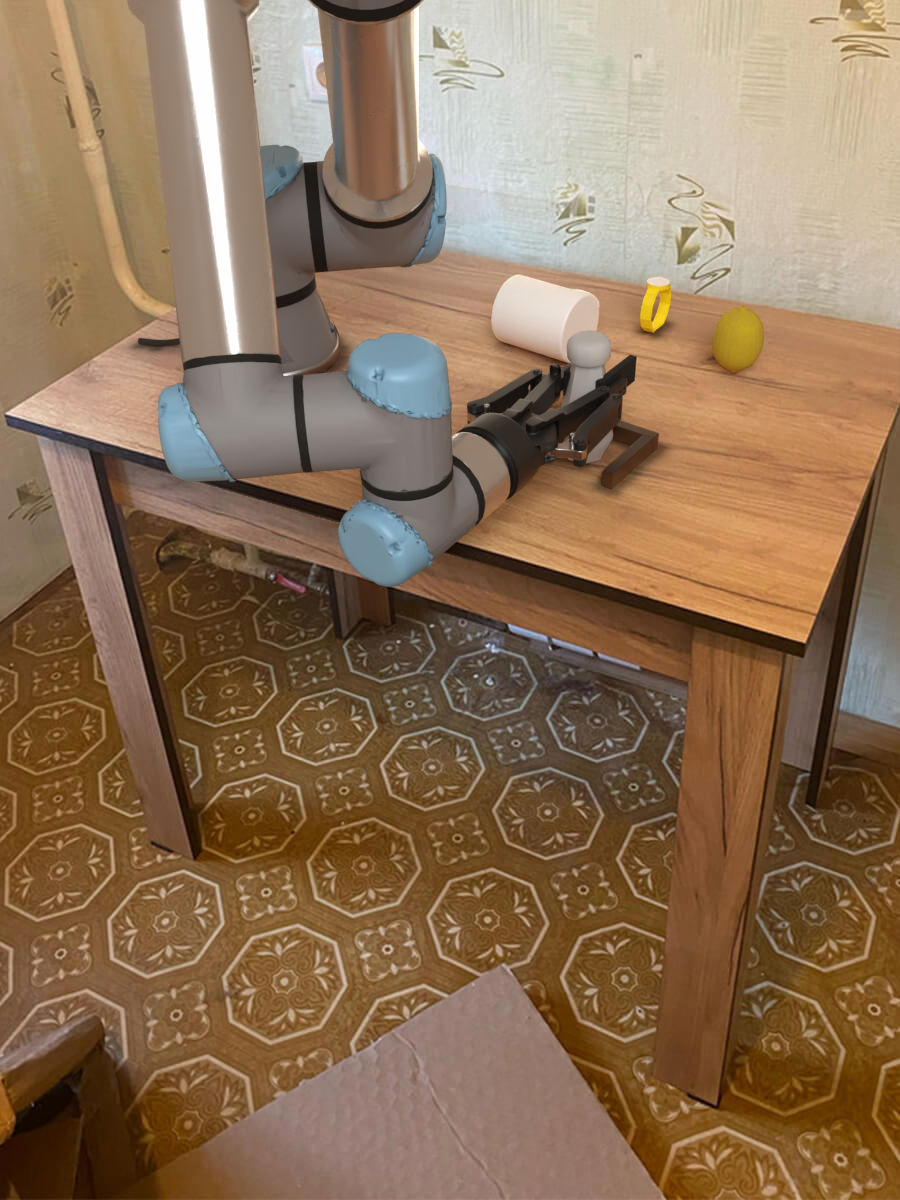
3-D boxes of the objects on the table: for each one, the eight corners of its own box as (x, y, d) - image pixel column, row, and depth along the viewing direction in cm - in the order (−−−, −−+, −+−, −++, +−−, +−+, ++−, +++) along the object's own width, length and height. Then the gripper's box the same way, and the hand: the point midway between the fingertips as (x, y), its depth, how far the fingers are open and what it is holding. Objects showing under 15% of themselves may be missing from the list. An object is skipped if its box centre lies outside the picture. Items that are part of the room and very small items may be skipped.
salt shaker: (543, 455, 114) (546, 338, 105) (577, 432, 117) (582, 317, 109) (590, 474, 110) (596, 356, 102) (623, 450, 114) (631, 334, 105)
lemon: (737, 389, 123) (746, 322, 117) (698, 372, 126) (706, 306, 121) (768, 372, 125) (779, 306, 120) (730, 356, 129) (738, 291, 123)
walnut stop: (515, 454, 114) (516, 439, 113) (564, 416, 120) (564, 402, 118) (611, 489, 108) (612, 474, 107) (657, 447, 114) (659, 432, 113)
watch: (653, 340, 132) (658, 293, 129) (632, 335, 134) (636, 288, 130) (674, 320, 136) (679, 274, 132) (653, 316, 137) (657, 270, 134)
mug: (560, 374, 127) (562, 309, 122) (490, 351, 132) (489, 288, 127) (616, 335, 134) (620, 272, 129) (548, 314, 139) (549, 253, 134)
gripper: (412, 475, 104) (549, 375, 118) (554, 532, 96) (684, 417, 110) (407, 405, 99) (551, 309, 113) (556, 459, 92) (691, 349, 106)
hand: (616, 363), depth 112 cm, fingers closed on salt shaker, 3 cm apart
